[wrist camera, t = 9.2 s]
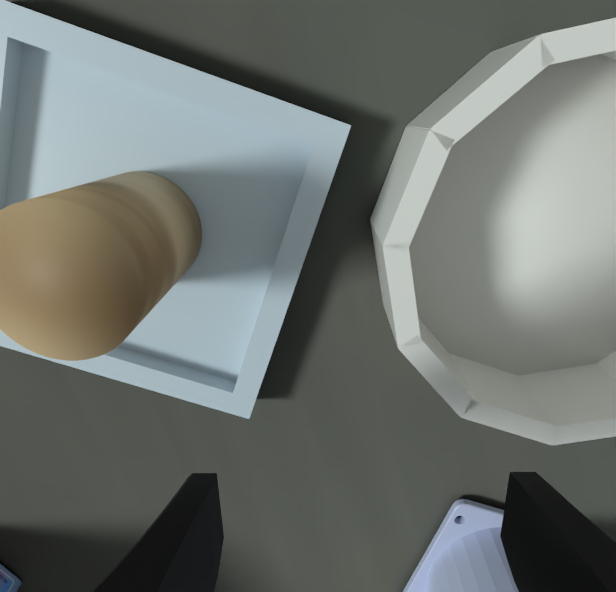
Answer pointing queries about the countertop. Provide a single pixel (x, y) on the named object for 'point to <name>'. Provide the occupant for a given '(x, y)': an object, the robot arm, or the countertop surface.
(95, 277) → the oak plug
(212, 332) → the blue-grey tray
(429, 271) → the white faceted bowl
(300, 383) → the countertop surface
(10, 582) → the ink cartridge box
